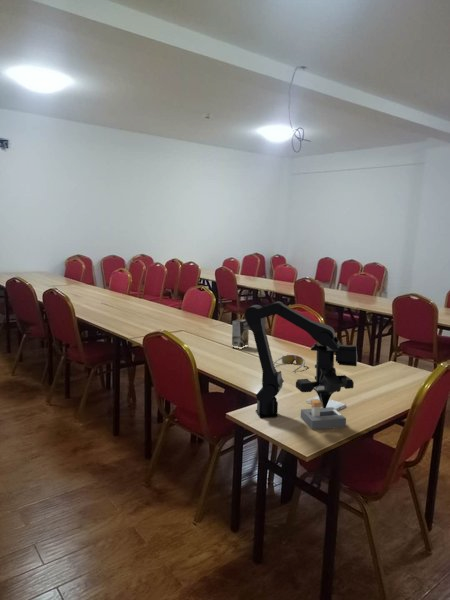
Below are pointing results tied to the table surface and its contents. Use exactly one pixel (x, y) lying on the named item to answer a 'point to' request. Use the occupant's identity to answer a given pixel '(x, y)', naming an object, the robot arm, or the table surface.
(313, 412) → the lever
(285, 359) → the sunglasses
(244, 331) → the coffee box
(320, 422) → the breaker panel
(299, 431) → the table surface
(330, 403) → the hard drive
